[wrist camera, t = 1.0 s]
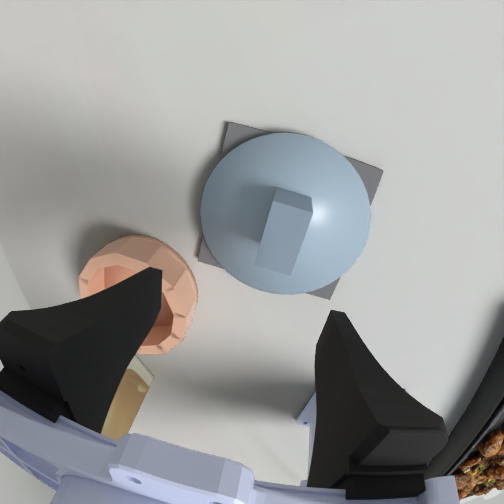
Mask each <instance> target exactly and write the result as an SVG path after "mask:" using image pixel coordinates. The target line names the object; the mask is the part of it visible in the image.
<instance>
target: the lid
mask: <svg viewBox="0 0 504 504" xmlns="http://www.w3.org/2000/svg"><path fill="white" fill-rule="evenodd" d="M200 219H201V226H202V231H203V234H204V238H205V240H206V243H207V245H208V247H209V249H210V251H211V252H212V254H213V256H214V257H215V258H216V260H217V261H218V262H219V264H220V265H221V266H222V267H223V268H224V269H225V270H226V271H227V272H228V273H230V274H231V275H232V276H233V277H234V278H236V279H238V280H239V281H241V282H242V283H244V284H246V285H248V286H250V287H252V288H255V289H258V290H261V291H264V292H269V293H274V294H301V293H306V292H310V291H314V290H317V289H319V288H322V287H324V286H326V285H328V284H330V283H332V282H333V281H335V280H336V279H338V278H339V277H341V276H342V275H343V274H344V273H345V272H347V271H348V269H349V268H350V267H351V266H352V265H353V264H354V263H355V261H356V260H357V258H358V257H359V256H360V254H361V252H362V250H363V248H364V246H365V243H366V240H367V238H368V233H369V229H370V219H371V212H370V203H369V198H368V194H367V191H366V188H365V186H364V183H363V181H362V180H361V178H360V176H359V174H358V173H357V171H356V170H355V168H354V167H353V166H352V164H351V163H350V162H349V161H348V160H347V159H346V158H345V157H344V156H343V155H342V154H341V153H339V152H338V151H337V150H335V149H334V148H333V147H331V146H330V145H328V144H326V143H324V142H322V141H320V140H318V139H315V138H313V137H309V136H305V135H301V134H295V133H273V134H268V135H263V136H259V137H256V138H253V139H251V140H249V141H247V142H245V143H243V144H241V145H239V146H238V147H236V148H235V149H233V150H232V151H230V152H229V153H228V154H227V155H226V156H225V157H224V158H223V159H222V160H221V161H220V162H219V163H218V164H217V166H216V167H215V168H214V170H213V171H212V173H211V175H210V176H209V178H208V180H207V183H206V185H205V187H204V191H203V194H202V199H201V206H200Z"/></svg>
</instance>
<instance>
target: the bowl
mask: <svg viewBox="0 0 504 504" xmlns="http://www.w3.org/2000/svg"><path fill="white" fill-rule="evenodd" d="M148 267H153V268H156V269H160V270H163V272H162V300H161V310H160V312H159V314H158V317H157V319H156V321H155V323H154V325H153V327H152V329H151V330H150V332H149V334H148V335H147V337H146V338H145V340H144V341H143V343H142V345H141V346H140V348H139V349H138V351H137V353H139V354H166V353H167V352H168V351H169V350H171V349H172V348H173V347H174V346H176V345H177V344H178V343H180V342H181V341H183V339H184V336H185V334H186V332H187V330H188V328H189V326H190V324H191V322H192V318H193V313H194V310H195V308H196V305H197V300H198V290H197V284H196V281H195V278H194V276H193V273H192V271H191V270H190V268H189V266H188V265H187V263H186V262H185V261H184V260H183V258H182V257H181V256H180V255H179V254H178V253H177V252H176V251H174V250H173V249H172V248H171V247H169V246H168V245H166V244H165V243H163V242H161V241H159V240H157V239H154V238H152V237H148V236H144V235H127V236H123V237H120V238H118V239H116V240H115V241H113V242H111V243H108V244H106V245H105V246H104V247H103V248H102V249H101V250H99V251H98V252H97V253H96V254H95V255H94V256H92V257H91V258H90V260H89V262H88V263H87V265H86V266H85V268H84V269H83V271H82V272H81V274H80V276H79V277H78V278H79V292H80V299H82V298H85V297H88V296H91V295H93V294H96V293H98V292H100V291H102V290H104V289H107V288H109V287H111V286H113V285H115V284H117V283H119V282H121V281H123V280H125V279H127V278H129V277H131V276H132V275H134V274H136V273H138V272H140V271H142V270H144V269H146V268H148Z"/></svg>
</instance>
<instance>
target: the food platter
mask: <svg viewBox="0 0 504 504" xmlns="http://www.w3.org/2000/svg"><path fill="white" fill-rule="evenodd" d="M485 464H486V465H485ZM423 475H424V481H425V480H427V479H430V478H435V477H443V476H451V475H453V476H455V481H456V486H457V492H458V497H459V501H460V500H461V499H463V498H466V497H469V496H473V495H476V496H479V495H483V494H487V493H489V492H490V491H491V490H492V489H493V488H497V490H503V489H504V337H503V340H502V342H501V344H500V346H499V349H498V351H497V353H496V355H495V357H494V359H493V361H492V363H491V365H490V367H489V369H488V371H487V373H486V375H485V377H484V379H483V381H482V383H481V384H480V386H479V388H478V390H477V392H476V393H475V395H474V397H473V399H472V400H471V402H470V404H469V405H468V407H467V409H466V410H465V412H464V414H463V415H462V417H461V418H460V420H459V422H458V423H457V425H456V426H455V428H454V429H453V431H452V432H451V434H450V435H449V437H448V441H447V443H446V445H445V447H444V448H443V449H442V450H441V451H440V452H439V453H438V454H437V455H435V456H434V457H433V459H432V460H431V461H430V463H429V464H428V465H427V472H426V473H425V474H423Z"/></svg>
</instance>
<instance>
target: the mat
mask: <svg viewBox="0 0 504 504" xmlns="http://www.w3.org/2000/svg"><path fill="white" fill-rule="evenodd" d="M268 134H273V133H270V132H267V131H263V130H259V129H256V128H252V127H248V126H244V125H240V124H236V123H232V122H229V125H228V129H227V133H226V137H225V141H224V145H223V149H222V153H221V157H220V161H221V160H222V159H223V158H224V157H225V156H226V155H227V154H228V153H229V152H230V151H232V150H233V149H235V148H236V147H238V146H239V145H241V144H243V143H245V142H247V141H249V140H251V139H253V138H256V137H259V136H263V135H268ZM344 157H345V158H346V159H347V160H348V161H349V162H350V163H351V164H352V166H353V167H354V168H355V170H356V171H357V173H358V174H359V176H360V178H361V180H362V181H363V183H364V186H365V188H366V191H367V194H368V198H369V203H370V206H371V203H372V200H373V198H374V195H375V193H376V190H377V187H378V185H379V182H380V179H381V177H382V174H383V170H381V169H379V168H376V167H373V166H371V165H368V164H366V163H363V162H360V161H357V160H355V159H352V158H349V157H346V156H344ZM220 161H219V162H220ZM198 261H200V262H203V263H206V264H210V265H213V266H216V267H220V268H223V267H222V266H221V265H220V264H219V262H218V261H217V260H216V258H215V257H214V256H213V254H212V252H211V251H210V249H209V247H208V245H207V243H206V240H205V238H204V234H203V238H202V243H201V248H200V253H199V258H198ZM223 269H224V268H223ZM339 279H340V277H339V278H338V279H336V280H335V281H333V282H332V283H330V284H328V285H326V286H324V287H322V288H319V289H317V290H314V291H310V292H306V293H308V294H311V295H315V296H318V297H322V298H325V299H329V300H330V298H331V296H332V294H333V292H334V290H335V287H336V285H337V283H338V281H339Z"/></svg>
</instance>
